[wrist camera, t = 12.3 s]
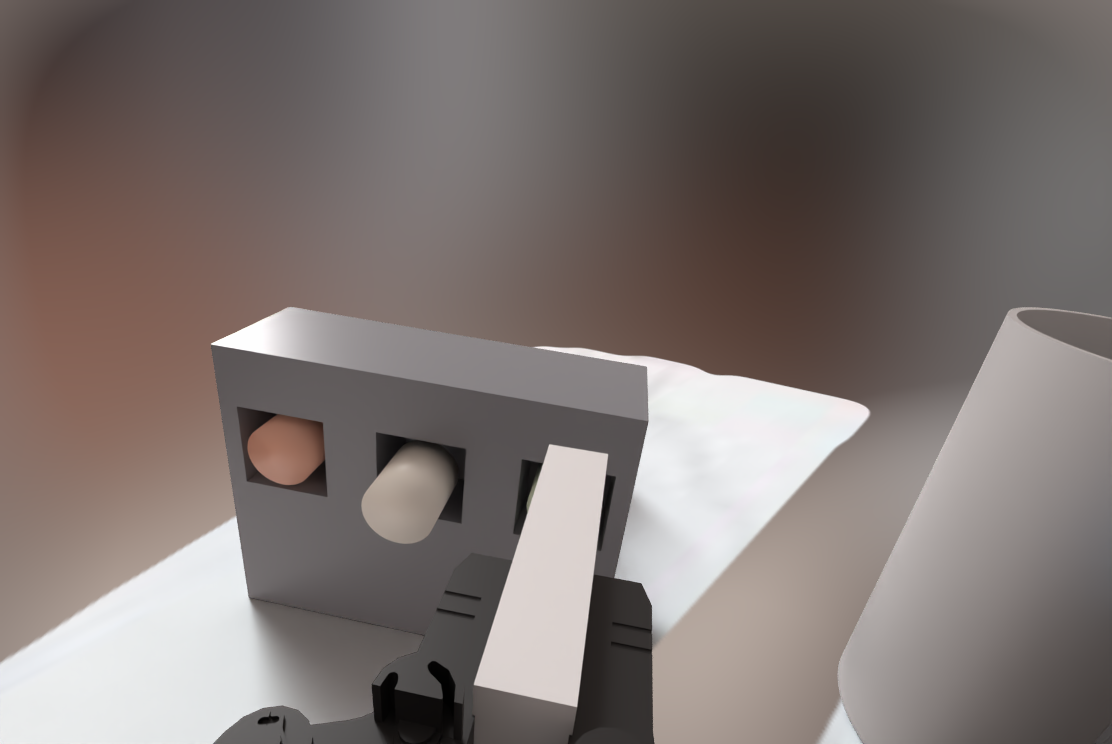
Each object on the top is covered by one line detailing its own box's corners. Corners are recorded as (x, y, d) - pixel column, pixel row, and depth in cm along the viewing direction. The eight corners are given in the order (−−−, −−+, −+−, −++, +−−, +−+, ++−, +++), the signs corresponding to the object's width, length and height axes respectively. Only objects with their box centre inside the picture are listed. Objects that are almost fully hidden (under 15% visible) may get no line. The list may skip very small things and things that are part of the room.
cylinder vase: (1027, 920, 25) (1463, 467, 15) (793, 691, 34) (961, 317, 24) (1106, 777, 32) (1444, 398, 21) (893, 618, 41) (1058, 301, 31)
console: (601, 587, 40) (646, 366, 33) (593, 671, 34) (648, 421, 26) (308, 528, 42) (289, 307, 35) (248, 597, 36) (210, 344, 28)
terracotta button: (348, 453, 34) (346, 400, 33) (313, 490, 31) (309, 433, 29) (292, 442, 35) (287, 390, 33) (251, 478, 31) (244, 420, 29)
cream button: (457, 502, 31) (460, 446, 30) (432, 550, 28) (435, 489, 26) (394, 490, 32) (394, 434, 30) (362, 535, 28) (360, 475, 26)
